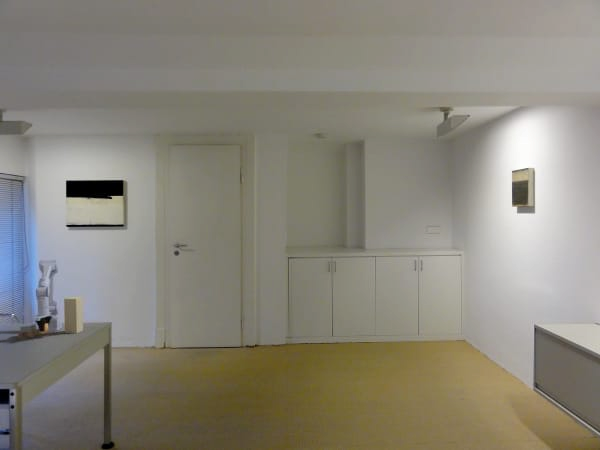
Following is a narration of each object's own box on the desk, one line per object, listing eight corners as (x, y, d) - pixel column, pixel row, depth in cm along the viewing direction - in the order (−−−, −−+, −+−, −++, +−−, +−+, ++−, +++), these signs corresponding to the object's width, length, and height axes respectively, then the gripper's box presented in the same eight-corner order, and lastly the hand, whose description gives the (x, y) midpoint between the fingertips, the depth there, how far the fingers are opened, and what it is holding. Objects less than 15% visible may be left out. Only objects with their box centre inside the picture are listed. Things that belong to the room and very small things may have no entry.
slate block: (36, 329, 262) (36, 323, 262) (31, 332, 256) (30, 326, 256) (26, 329, 261) (25, 324, 261) (20, 332, 255) (20, 326, 255)
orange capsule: (49, 331, 258) (49, 323, 258) (46, 333, 253) (45, 325, 253) (42, 331, 257) (41, 323, 257) (38, 333, 253) (38, 325, 253)
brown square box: (39, 334, 263) (39, 328, 263) (32, 338, 255) (32, 332, 255) (25, 335, 262) (25, 329, 262) (18, 338, 254) (18, 332, 254)
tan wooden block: (84, 330, 270) (83, 296, 269) (77, 333, 262) (75, 298, 262) (72, 330, 270) (71, 296, 270) (64, 333, 263) (63, 298, 263)
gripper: (42, 305, 262) (43, 327, 262) (29, 310, 247) (30, 333, 248) (54, 304, 263) (55, 326, 263) (42, 309, 248) (43, 333, 248)
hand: (44, 330), depth 255 cm, fingers closed on orange capsule, 4 cm apart
